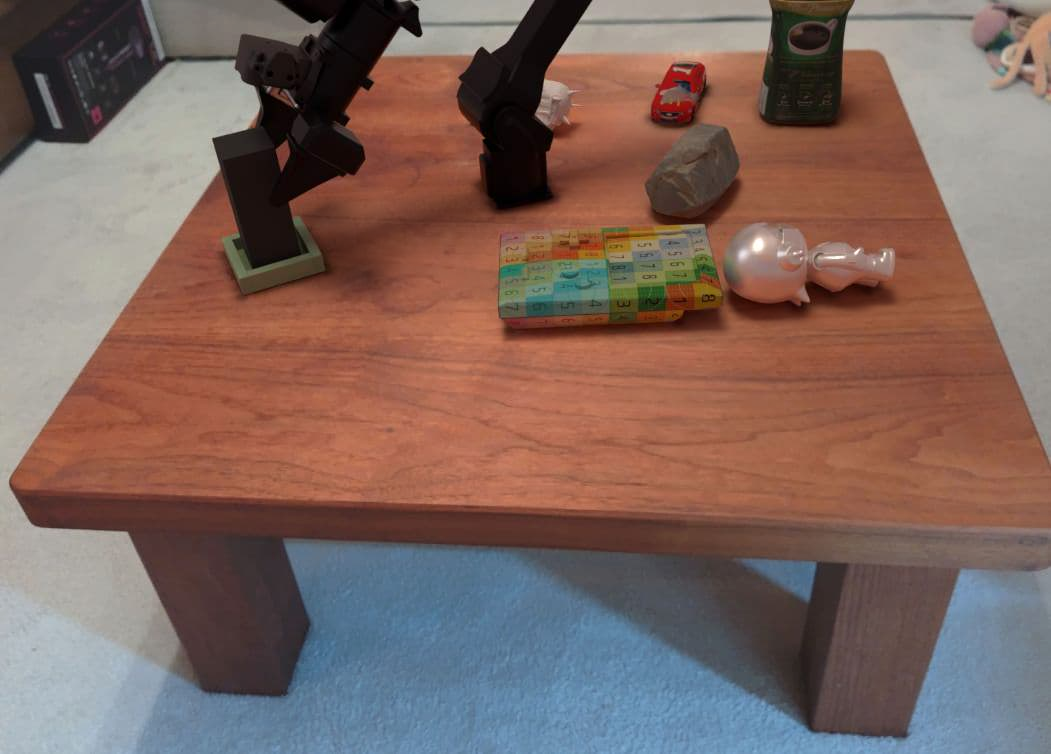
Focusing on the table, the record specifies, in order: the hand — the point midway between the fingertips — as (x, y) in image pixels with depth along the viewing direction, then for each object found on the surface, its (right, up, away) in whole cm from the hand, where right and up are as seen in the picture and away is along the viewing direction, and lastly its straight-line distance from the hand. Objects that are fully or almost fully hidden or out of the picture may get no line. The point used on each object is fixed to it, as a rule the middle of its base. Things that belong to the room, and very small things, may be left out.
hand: (261, 183), depth 98 cm
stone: (+44, 0, +10) cm, 45 cm away
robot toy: (+26, +12, +26) cm, 39 cm away
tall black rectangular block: (0, -6, +5) cm, 8 cm away
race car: (+45, +15, +27) cm, 55 cm away
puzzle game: (+34, -11, -2) cm, 35 cm away
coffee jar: (+59, +13, +24) cm, 65 cm away
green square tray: (0, -7, +6) cm, 9 cm away
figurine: (+52, -11, -4) cm, 53 cm away
